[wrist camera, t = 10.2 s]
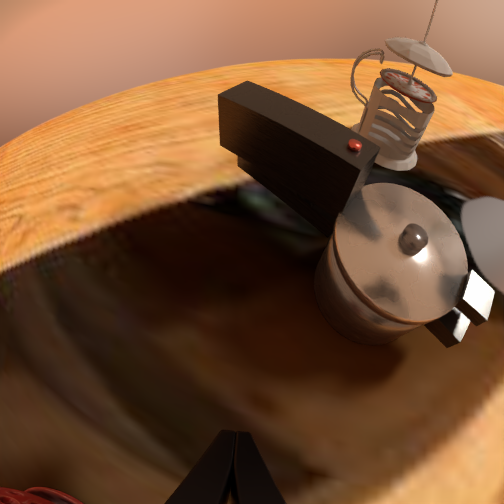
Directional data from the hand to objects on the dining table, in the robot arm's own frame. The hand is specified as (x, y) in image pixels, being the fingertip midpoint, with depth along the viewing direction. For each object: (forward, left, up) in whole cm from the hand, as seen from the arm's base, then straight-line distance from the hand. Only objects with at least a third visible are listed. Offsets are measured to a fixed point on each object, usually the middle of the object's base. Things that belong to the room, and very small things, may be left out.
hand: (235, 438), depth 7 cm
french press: (+21, +28, -13) cm, 37 cm away
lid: (+10, +12, -6) cm, 16 cm away
